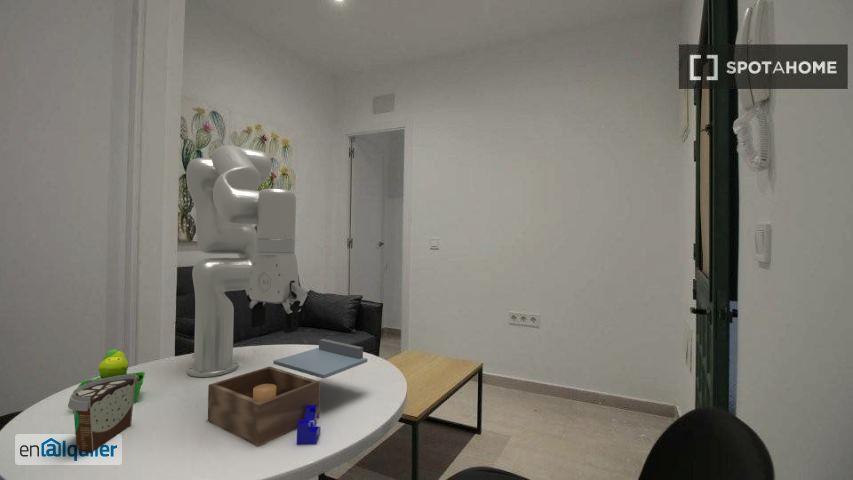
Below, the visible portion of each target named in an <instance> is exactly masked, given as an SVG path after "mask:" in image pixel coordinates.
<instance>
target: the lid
mask: <svg viewBox="0 0 853 480" xmlns="http://www.w3.org/2000/svg"><path fill="white" fill-rule="evenodd" d="M272 362H273V363H272V364H273V365H275V366H279V367H283V368H285V369H289V370H293V371H295V372H300V373H301V374H307V375H310V376H313V377H317V378H320V379H327V378H330V377H332V376H334V375H338V374H340V373H342V372H345V371H347V370H350V369H353V368H356V367H358V366H360V365H361V366H362V365H363V364H365V363H367V362H368V358H367V357H364V347H362V346H357V345H353V344H348V343H345V342H339V341H335V340H334V341H333V340H331V339H325V338H322V339H319V340H318V347H316V348H312V349H309V350H306V351H302V352H299V353H296V354H292V355H288V356H285V357H281V358H278V359H275V360H273V361H272Z"/></svg>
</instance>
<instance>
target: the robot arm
mask: <svg viewBox="0 0 853 480" xmlns="http://www.w3.org/2000/svg"><path fill="white" fill-rule="evenodd" d="M185 172H186V174H185V175H186V176H185V177H186V185H187V189H188V191H189V194H190V197H191V199H192V201H193V206H194V209H195V228H196V229H195V231H196V242H197V243H196V244H197V246H198V249H199V251H200V252H202V253H203V254H210V255H238V257H210V258H203V259H201V260H199V261H197V262H195V264H194V265H193V268H192V272H191V273H192V275H191V276H192V282H193V288H194V300H195V301H194V303H195V304H194V305H195V308H194V311H195V314H194V320H195V321H194V349H193V351H194V353H193V354H192V355H191V358H192V359H193V364H192V365H190V366H189V367H187V370H186V373H187V375H188V376H191V377H195V378H196V377H197V378H206V377H207V378H208V377H209V378H210V377H215V376H217V377H218V376H222V375H225V374H228V373H231V372H234V371H235V370H237V369H238V368H239V361H237V360H235V359H233V354H234V352H233V350H234V322H235V321H234V320H235V319H234V316H235V315H234V314H235V310H234V304H233V302H232V301H231V299H230V298H229V297H228V296H227V295H226V293H225V292H231V291H243V290H245V293H246V299H247V300H248V301H247V302H249V305H248V307H249V308H250V309H251V311H250V327H251V328H257V327H262V326H265V325H266V311H267V310H266V306H264V305H265V304H266V303H267V304H274V305H278V304H282V306H283V307H284V310H285V312H284V313H283V314H284V315H283V333H285V334H290V333H292V332H298V329H299V312H301V310H302V308H303V307H304V305H305V301H306V299H307V297H308V292H307V291H306V290H305V289H304V288H303V287H301V286H300V285H299V269H298V268H299V266H298V261H297V260H298V259H297V255H296V254H295V252H296V247H295V246H296V215H297V214H296V212H297V211H296V210H297V198H296V194H295V193H294V192H293V191H291V190H288V189H282V188H265V189H261V190H258V189H259V187H260V186H261V185H262V184H264V183H265V182H266V181H267V180H268V178H270V176H271V172H272V162H271V159H270V157H269V155H268V154H267V153H266V152H264V151H263V150H262V151H261V150H258V149H252V148H247V147H243V146H237V145H232V144H231V145H230V144H224V145H221V146H218V147H216V148H215V149H214V150H213V151H212V153H211V158H210V157H197V158H194V159H191V160H190V161H189V162H188V164H187V166H186V171H185ZM253 225H256V228H255V226H253Z"/></svg>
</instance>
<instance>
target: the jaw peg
mask: <svg viewBox="0 0 853 480" xmlns="http://www.w3.org/2000/svg"><path fill="white" fill-rule="evenodd" d="M275 396H276V385H274V384H262V385H258V386H256V387H254V388H253V399H255V400H258V401H260V402H262V401H265V400H267V399H270V398H273V397H275Z"/></svg>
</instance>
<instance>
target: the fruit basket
mask: <svg viewBox="0 0 853 480" xmlns="http://www.w3.org/2000/svg"><path fill="white" fill-rule="evenodd" d="M102 359H103V360H102V361H101V362H100V363H99V365H98V366H97V369H98V372H99V376H100V377H96V378H92V379H86V380H83V381H81V382H80V384H79V385H78V386H77V388H78V387H80V386H82V385H84V384H87V383H90V382H93V381H96V380H100V379H104V378H109V377H114V376H121V375H132V374H136V377H137V384H135V391H134V401H133V404H135V403H136V402H138V398H139V394H140V391H141V388H142V385H143V383H144V380H145V376H146V372H145V371H140V372H131V373H128V372H127V371H128V368H129V362H128V360H127V359H126V354H125V353H124V352H123V351H120V350H119V349H111V350H109V351H107V352H106V354H105V356H104V357H103V358H102Z"/></svg>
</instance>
